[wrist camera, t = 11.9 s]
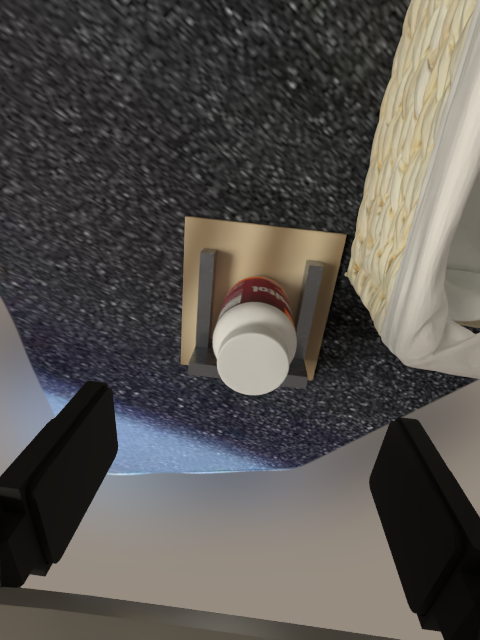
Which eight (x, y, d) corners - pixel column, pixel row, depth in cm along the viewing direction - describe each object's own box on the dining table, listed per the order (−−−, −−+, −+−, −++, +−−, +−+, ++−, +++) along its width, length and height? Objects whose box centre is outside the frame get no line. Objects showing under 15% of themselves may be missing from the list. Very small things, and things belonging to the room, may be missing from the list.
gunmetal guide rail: (319, 261, 28) (330, 276, 24) (299, 359, 32) (305, 388, 28) (204, 247, 28) (192, 260, 24) (198, 347, 33) (188, 374, 28)
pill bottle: (303, 304, 30) (323, 366, 20) (258, 345, 32) (256, 421, 22) (254, 259, 29) (250, 302, 18) (211, 306, 31) (186, 367, 21)
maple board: (345, 233, 28) (346, 235, 27) (311, 377, 34) (312, 380, 33) (186, 215, 28) (185, 216, 27) (182, 361, 34) (180, 364, 34)
